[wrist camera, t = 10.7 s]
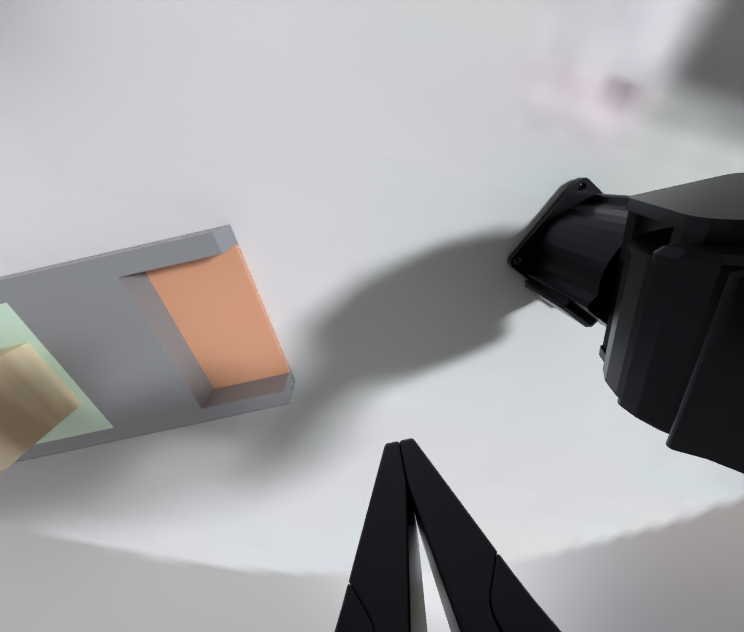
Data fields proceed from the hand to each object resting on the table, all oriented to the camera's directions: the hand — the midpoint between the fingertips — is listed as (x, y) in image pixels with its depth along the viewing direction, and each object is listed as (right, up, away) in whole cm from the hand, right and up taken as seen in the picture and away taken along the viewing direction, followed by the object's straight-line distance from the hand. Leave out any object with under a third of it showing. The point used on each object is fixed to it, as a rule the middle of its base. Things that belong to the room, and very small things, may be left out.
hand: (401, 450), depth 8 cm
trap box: (-21, +1, +12) cm, 25 cm away
